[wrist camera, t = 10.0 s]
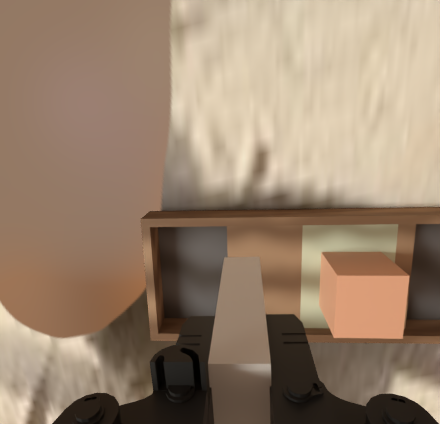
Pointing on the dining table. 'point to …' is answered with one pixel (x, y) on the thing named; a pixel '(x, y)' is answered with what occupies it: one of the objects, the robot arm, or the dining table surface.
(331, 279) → the block
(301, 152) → the dining table surface
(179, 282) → the trap box
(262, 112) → the dining table surface
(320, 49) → the dining table surface
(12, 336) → the dining table surface
